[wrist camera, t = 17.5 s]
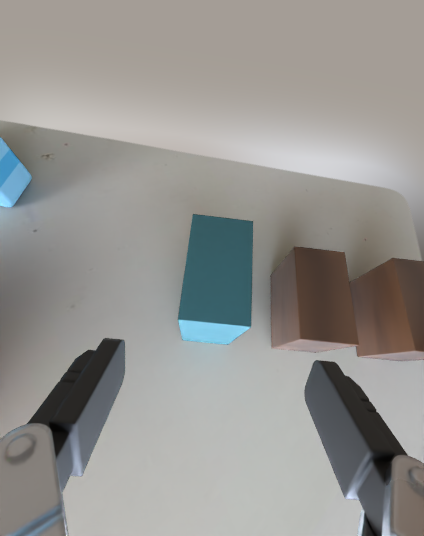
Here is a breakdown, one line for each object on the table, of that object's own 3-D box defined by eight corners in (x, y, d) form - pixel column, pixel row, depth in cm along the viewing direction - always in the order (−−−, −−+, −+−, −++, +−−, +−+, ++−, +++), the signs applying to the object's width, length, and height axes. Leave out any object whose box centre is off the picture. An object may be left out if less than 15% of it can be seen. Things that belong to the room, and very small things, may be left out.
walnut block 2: (385, 288, 28) (442, 263, 22) (400, 361, 25) (473, 356, 19) (346, 283, 28) (392, 257, 22) (357, 356, 25) (415, 351, 18)
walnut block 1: (309, 279, 28) (345, 252, 21) (316, 352, 25) (360, 345, 18) (270, 275, 28) (294, 245, 21) (271, 348, 24) (300, 339, 18)
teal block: (232, 271, 27) (253, 221, 18) (228, 344, 24) (251, 327, 15) (191, 267, 27) (192, 213, 18) (182, 340, 24) (177, 319, 15)
